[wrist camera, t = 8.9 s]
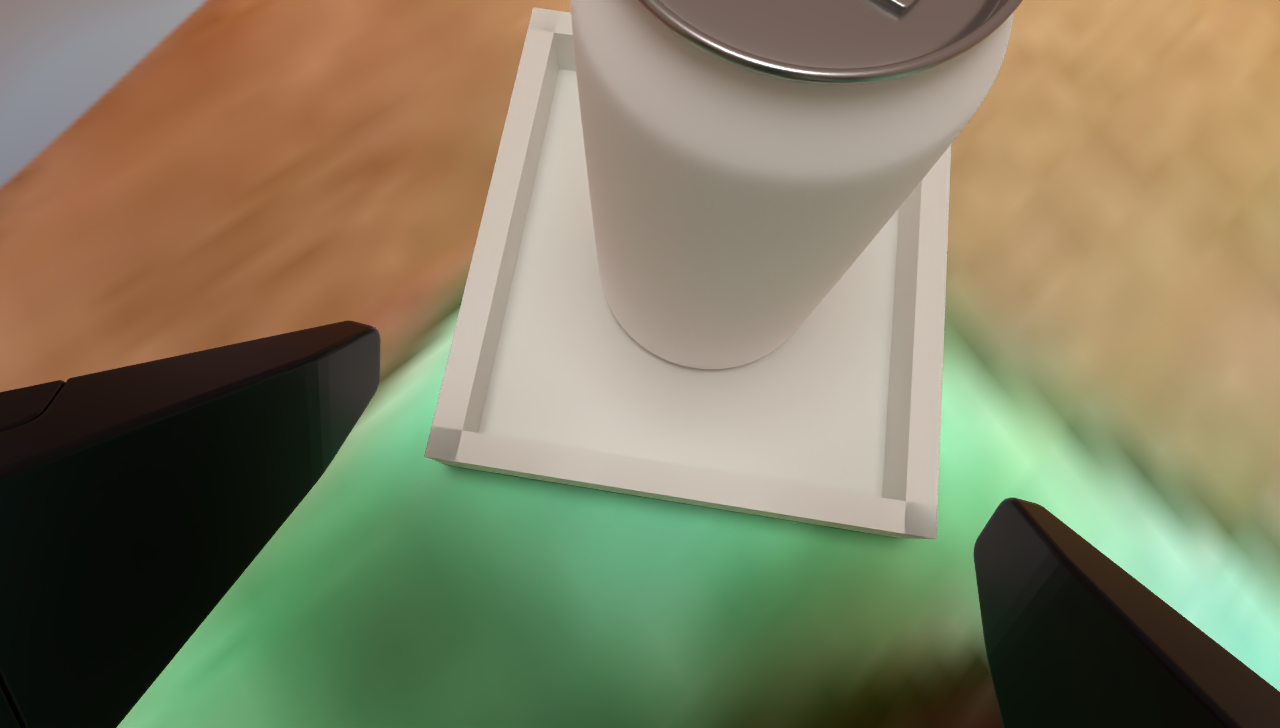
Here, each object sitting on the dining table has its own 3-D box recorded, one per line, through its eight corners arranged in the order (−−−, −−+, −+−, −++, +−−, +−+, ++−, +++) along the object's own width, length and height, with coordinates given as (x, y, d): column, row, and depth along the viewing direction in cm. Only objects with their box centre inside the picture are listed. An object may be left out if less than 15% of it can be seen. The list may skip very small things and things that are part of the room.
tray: (900, 538, 18) (936, 538, 16) (447, 465, 18) (424, 456, 16) (922, 113, 22) (953, 67, 20) (542, 58, 22) (533, 7, 20)
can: (686, 138, 21) (761, -373, 9) (854, 255, 20) (1181, -146, 8) (555, 285, 19) (443, -90, 8) (728, 419, 18) (904, 221, 7)
